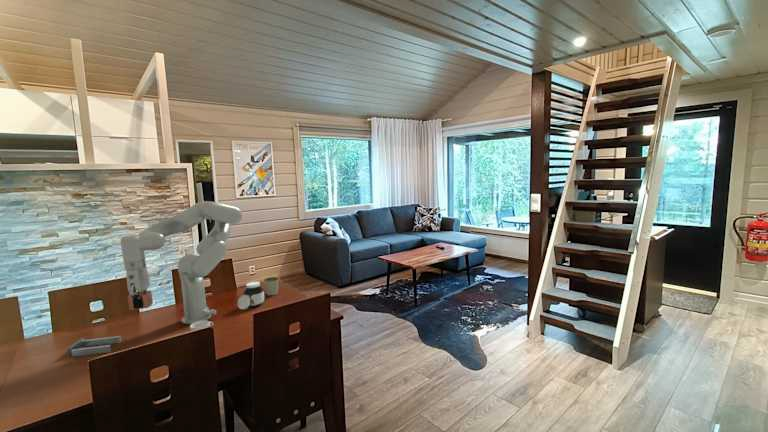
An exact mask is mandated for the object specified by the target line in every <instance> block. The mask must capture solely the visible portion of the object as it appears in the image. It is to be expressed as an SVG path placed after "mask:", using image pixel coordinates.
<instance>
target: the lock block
mask: <svg viewBox="0 0 768 432" xmlns="http://www.w3.org/2000/svg"><path fill="white" fill-rule="evenodd" d="M135 295H137V296H138V293H136V294H135ZM140 296H141V298H142V304H143V307H142V308H138V309H137V310H140V309H141V310H142V309H149V308H150V307H151V306H152V305H153V304H154V302H153V295H152V290H150V289H149V290H147V291H143V292H140ZM141 298H140V299H141ZM127 303H128V308H129V311H133V310H135V309H134V306H133V300H132V298H131V296H130V295H128V296H127Z"/></svg>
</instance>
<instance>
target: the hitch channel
mask: <svg viewBox="0 0 768 432" xmlns="http://www.w3.org/2000/svg"><path fill="white" fill-rule="evenodd" d="M121 343H122V336H121V335H117V336H109V337H108V336H107V337H98V338H90V339H86V337H82V338H80V339H78V340H77V341H76V342H75V343H73V344H71V346H69V347H68V348H67V355H68V358H75V357H82V356H89V355H90V354H91V355H98V354H97V353H99V354H104V353H105V354H106V353H111V352H112V345H111V344H121ZM96 345H97V346H96Z"/></svg>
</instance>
